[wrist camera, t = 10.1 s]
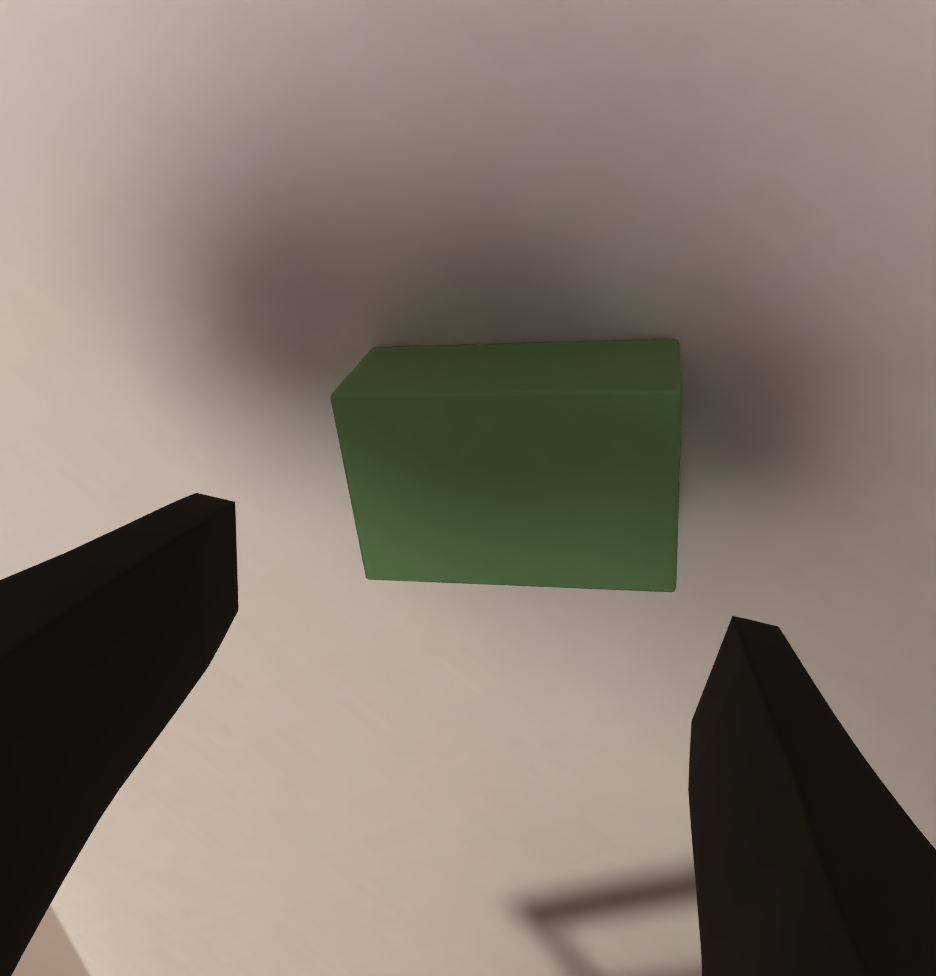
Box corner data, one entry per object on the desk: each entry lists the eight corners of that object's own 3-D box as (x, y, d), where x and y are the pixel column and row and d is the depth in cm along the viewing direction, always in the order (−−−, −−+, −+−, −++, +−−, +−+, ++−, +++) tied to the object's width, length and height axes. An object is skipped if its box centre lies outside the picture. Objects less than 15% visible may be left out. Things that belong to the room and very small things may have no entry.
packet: (679, 337, 15) (681, 389, 13) (674, 522, 17) (676, 594, 15) (371, 346, 16) (327, 394, 14) (400, 515, 18) (364, 580, 16)
